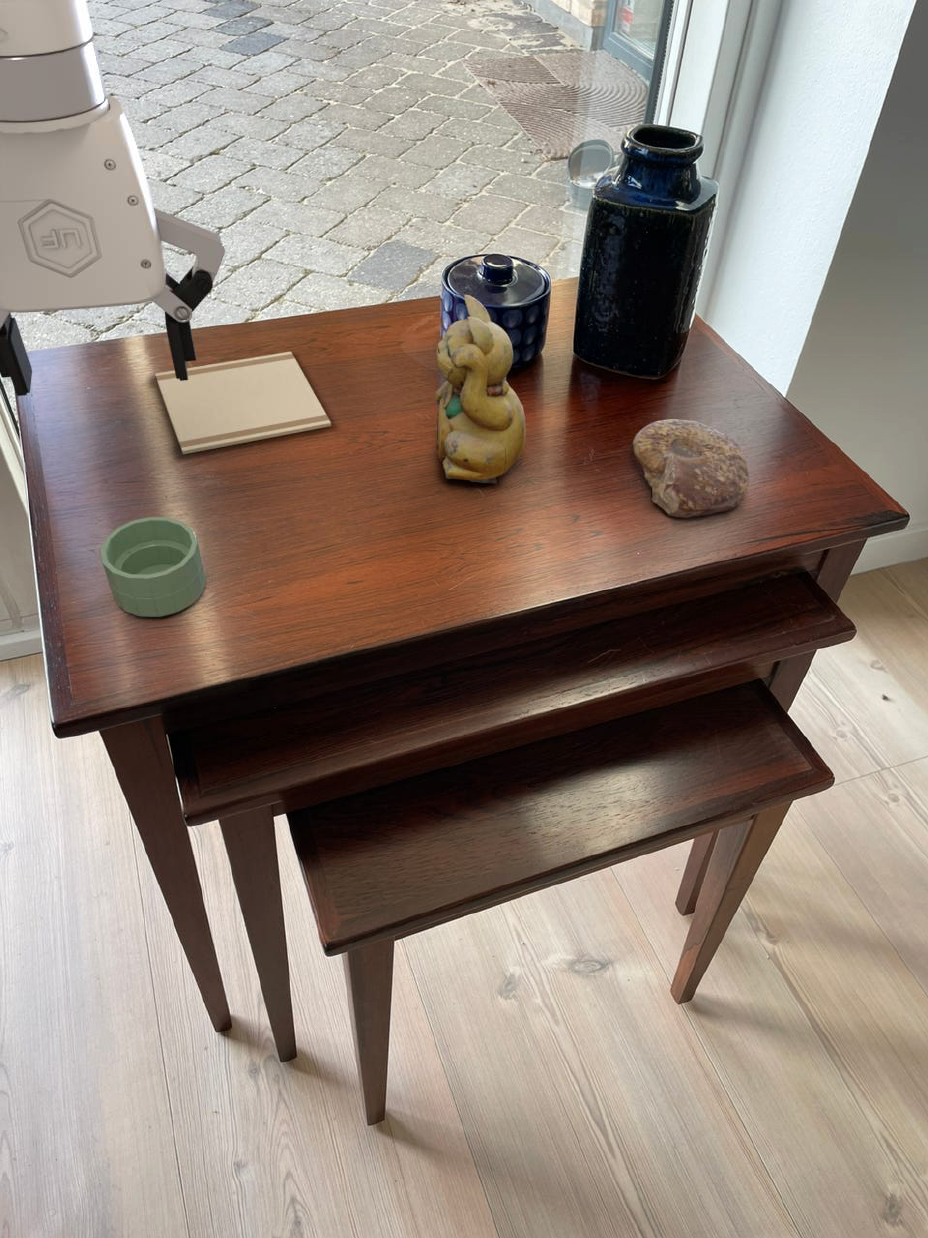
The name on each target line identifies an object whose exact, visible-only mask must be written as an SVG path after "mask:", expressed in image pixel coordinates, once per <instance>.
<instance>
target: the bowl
mask: <svg viewBox="0 0 928 1238" xmlns="http://www.w3.org/2000/svg"><path fill="white" fill-rule="evenodd" d="M99 554H100V558H101V563H102V566H103V568H104V572H105V576H106V578H107V581H108V584H109V588H110V591H111V594H112V597H113V600H114V602H115V603H116V605H118V606H119V607H120V608H121V609H122V610H123V611H124V612H126V613H129V614H131V615H134V616H137V617H142V618H143V617H144V618H145V617H147V618H149V617H150V618H160V617H165V616H169V615H173V614H176V613H179V612H181V611H182V610H184V609H186V608H188V607H190V606H192V605H193V604H194V603H195V602H196V601H197V600H198V598H199V597H200V596H201V595H202V594H203V592H204V588H205V584H206V582H207V581H206V574H205V570H204V566H203V562H202V556H201V552H200V547H199V542H198V539H197V537H196V534H195V531H194V529H193V528H191V527H190V526H189V525H187V524H186V523H185V522H183V521H180V520H178V519H174V518H171V517H166V516H164V517H163V516H149V517H143V518H139V519H134V520H131V521H129V522H126V523H125V524H122V525H120V526H119V527H116V528H115V529H114V530H113V531H112V532H111V533H110V534H109V535H108V536H106V537H105V539H104V540H103V543H102V545H101V547H100V550H99Z"/></svg>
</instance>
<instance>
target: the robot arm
mask: <svg viewBox="0 0 928 1238" xmlns="http://www.w3.org/2000/svg"><path fill="white" fill-rule="evenodd" d="M143 164H144V163H143V161H142V158H141V156H140V151H139V148H138V146H137V143H136V140H135V137H134V134H133V131H132V129H131V126H130V124H129V121H128V119H127V116H126V114H125V111H124V109H123V106H122V104H121V102H120V101H119V100H118V99H117V98H115V97H114V96H111V95H107V91H106V86H105V81H104V76H103V71H102V68H101V61H100V56H99V53H98V47H97V43H96V38H95V35H94V30H93V24H92V19H91V14H90V10H89V5H88V1H87V0H0V377H1V378H2V379H4V378H5V379H6V378H10V380H11V382H12V386H13V388H14V392H15V394H16V396H17V397H23V396H24V397H25V396H28V394H30V393H31V388H32V387H31V386H32V377H33V376H32V375H33V368H32V365H31V361H30V359H29V356H28V353H27V349H26V347H25V343H24V340H23V337H22V334H21V331H20V329H19V326H18V323H17V319H16V318H15V317H13V316H12V313H19V314H20V313H22V314H24V313H27V314H28V313H42V312H43V313H45V312H54V311H55V312H58V311H69V310H70V311H71V310H73V311H74V310H83V309H98V308H99V309H100V308H110V307H123V306H133V305H141V304H145V303H149V302H153V303H154V304H155V305H157V306H158V308H160V309H161V310H162V311H164V320H165V321H164V322H165V329H166V334H167V340H168V345H169V349H170V355H171V359H172V365H173V369H174V370H175V374H176V379H180V381H185V380H188V374H187V368H188V366H187V365H188V364H187V362H194V361H195V362H197V355H196V348H195V342H194V337H193V333H192V332H193V331H192V325H191V321H190V320H192V317H193V312H194V311H195V310H196V309H197V307H198V306H200V304H201V303H202V302H203V301H204V300H205V298H206V297H207V296H208V295H209V293H210V292H211V291H212V290H213V287H214V281H215V278H216V276H217V274H218V272H219V270H220V267H221V264H222V261H223V259H224V256H225V254H226V249H225V244H224V239H223V237H222V236H221V235H219V234H218V233H215V232H213V231H210V230H208V229H206V228H203V227H201V226H199V225H196V224H194V223H191V222H189V221H186V220H185V219H181V218H179V217H177V216H174V215H172V214H170V213H167V212H165V211H163V210H160V209H158V208H155V206H154V201H153V198H152V194H151V190H150V187H149V182H148V179H147V175H146V172H145V168H144V165H143ZM163 242H164V243H166V244H169V245H172V246H174V247H177V248H179V249H181V250H184V251H187V252H189V253H192V254H194V255H195V262H194V263H193V265H192V266H191V268H190V269H189V270H188V271H187V273H185V275H184V276H183V277H182V279H181V280H179V278H177V277H175V276H174V275H173V274H172V273H171V272H170V271H169V270H168V269H167V268H166V262H165V256H164V248H163Z"/></svg>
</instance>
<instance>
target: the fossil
mask: <svg viewBox="0 0 928 1238" xmlns="http://www.w3.org/2000/svg"><path fill="white" fill-rule="evenodd" d="M632 447H633V455H634V456H635V458H636V461H637V462H638V463H639V464H640V466H641V469H642V470H643V473H644V478H645V480H646V481H647V482H648V485H649V487H650V488H651V489H652V491H651V494H652V497H651V500H652V503H654V504H657V506H659V507H660V508H662V509H663V510H664V511H665V513H666V514H667V515H668V516H672V517H675V518H684V519H688V518H692V517H702V516H710V515H713V514H715V513H722V512H728V511H731V510H733V508H735V507H736V506H739V504H740V503H741V501H742V500H743V498H744V495H745V493H746V491H747V489H748V486H749V483H750V473H749V470H748V464H747V461H746V458H745V455H744V454H743V453H742V450H741V446H740V445H739V444H738V443H737V442H736V441H735V440H734V439H733V438H731V437H729V436H728V435H727V434H726V433H722V432H720V431H719V430H718V429H715V428H713V427H712V426H708V425H706V424H703V423H701V421H696V420H687V419H677V418H669V419H662V420H657V421H654V422H651V423H649V424H647V425H646V426H643V428H642V429H640V430H639V431H638V432H637V433H636V435H635V436H634V439H633V441H632Z"/></svg>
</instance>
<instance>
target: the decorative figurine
mask: <svg viewBox="0 0 928 1238" xmlns="http://www.w3.org/2000/svg"><path fill="white" fill-rule="evenodd" d="M463 298H464V303H465V306H466V309H467V313H468V316H467V317H466V318H465V319H460V320H457V321H455V322H453V323H452V324H451V325H449V326H448V329H447V330H446V332H445V335H444V337H443V338H442V339H441V340H440V341H439V342H438V343H437V346H436V352H435V353H436V356H435V357H436V365H437V369H438V371H439V372H440V373H441V375H442V377H443V378H444V379H445V382H443V383H442V384H441V386H440V387H439V388H438V389H437V390H436V392H435V394H434V395H435V401H436V404H437V405H438V408H437V420H436V450H437V454H438V459H439V462H440V463H442V467H443V470H444V474H445V478H446V479H448V480H462V481H470V482H472V483H479V484H480V483H482V484H483V483H484V484H495V485H496V484H497V478H498V477H500V476H502V475H504V474H506V473H507V472H508V471H509V470H510V469H511V468H512V467H513V466H514V464H515V462H517V461H519V459H520V458H521V457H522V454H523V452H524V450H525V445H526V438H527V437H526V436H527V426H526V417H525V411H524V406H523V405H522V403H521V400H520V399H519V395H517V393H516V391H514V389H513V388H512V387H511V386H510V384H509V383H508V381H507V375H508V373H509V372H510V371H511V367H512V365H513V358H514V351H513V345H512V342H511V339H510V337H509V336H508V333H506V331H505V330H504V329H503V327H501V326H500V325H498V324H496V323H495V322H493V321H492V320H491V317H490V314H489V311H488V310H487V309H486V307H485V305H483V304H482V303H481V302H480V301H479V300H478V299H477V298H475V297H473V296H471V295H470V294H463Z"/></svg>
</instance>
